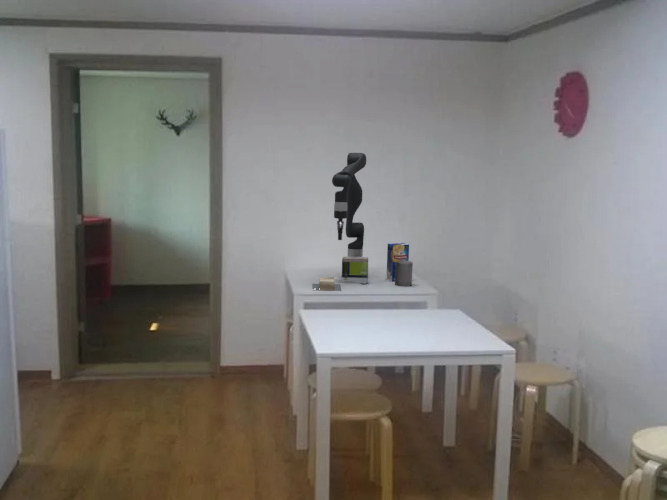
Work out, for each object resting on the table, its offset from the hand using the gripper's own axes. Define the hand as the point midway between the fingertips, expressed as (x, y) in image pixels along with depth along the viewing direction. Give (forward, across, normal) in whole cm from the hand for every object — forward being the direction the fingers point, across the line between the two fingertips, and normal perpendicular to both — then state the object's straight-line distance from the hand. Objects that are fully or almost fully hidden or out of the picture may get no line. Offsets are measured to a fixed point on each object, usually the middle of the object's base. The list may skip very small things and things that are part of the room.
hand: (339, 239), depth 414 cm
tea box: (+26, -7, +10) cm, 29 cm away
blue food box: (+26, -17, +35) cm, 47 cm away
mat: (+26, +12, -7) cm, 29 cm away
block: (+23, +9, -7) cm, 25 cm away
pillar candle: (+26, -2, +38) cm, 46 cm away
